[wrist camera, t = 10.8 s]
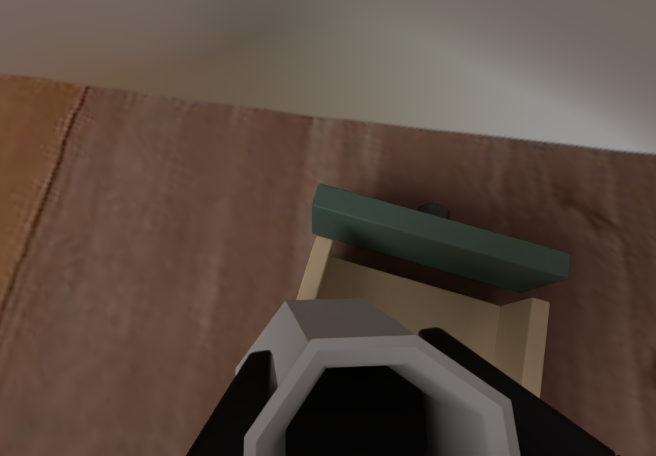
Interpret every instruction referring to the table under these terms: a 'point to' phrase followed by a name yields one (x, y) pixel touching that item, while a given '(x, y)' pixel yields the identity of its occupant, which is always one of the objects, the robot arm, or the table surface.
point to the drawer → (443, 254)
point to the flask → (370, 390)
